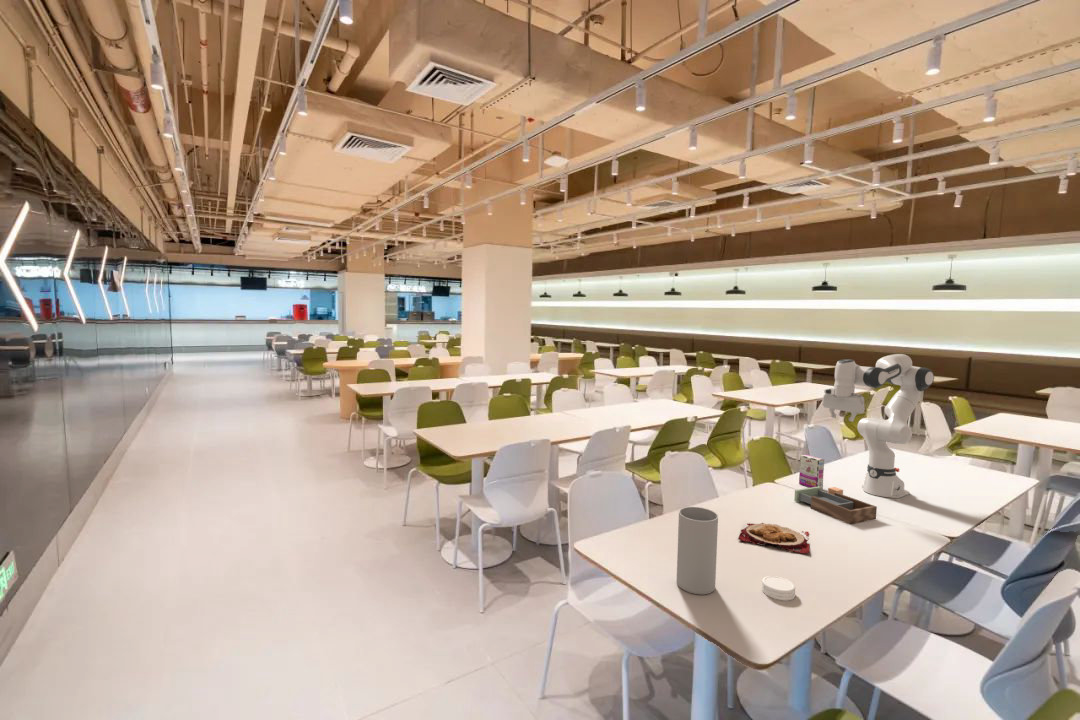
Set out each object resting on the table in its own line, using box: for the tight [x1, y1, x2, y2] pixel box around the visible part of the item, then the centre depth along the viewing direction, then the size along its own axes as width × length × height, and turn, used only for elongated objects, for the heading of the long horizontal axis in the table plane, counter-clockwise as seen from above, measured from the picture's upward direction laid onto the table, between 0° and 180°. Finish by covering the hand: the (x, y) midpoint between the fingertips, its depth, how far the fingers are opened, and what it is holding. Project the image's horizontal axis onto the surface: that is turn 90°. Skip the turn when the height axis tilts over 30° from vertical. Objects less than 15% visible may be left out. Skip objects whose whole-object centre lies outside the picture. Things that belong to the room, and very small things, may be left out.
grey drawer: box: [793, 486, 854, 510], centre depth 241 cm, size 17×20×6 cm
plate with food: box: [737, 522, 810, 554], centre depth 206 cm, size 24×26×4 cm
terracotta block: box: [827, 486, 844, 495], centre depth 250 cm, size 5×5×6 cm
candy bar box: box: [798, 454, 825, 490], centre depth 271 cm, size 11×5×16 cm, turn 25°
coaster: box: [761, 575, 796, 601], centre depth 164 cm, size 10×10×4 cm
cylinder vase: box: [676, 506, 719, 596], centre depth 167 cm, size 12×12×25 cm
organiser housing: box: [810, 492, 878, 525], centre depth 232 cm, size 17×20×6 cm
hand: (842, 419), depth 248 cm, fingers open, 8 cm apart
